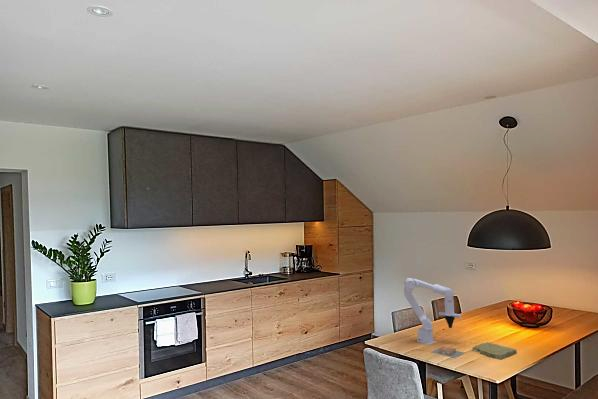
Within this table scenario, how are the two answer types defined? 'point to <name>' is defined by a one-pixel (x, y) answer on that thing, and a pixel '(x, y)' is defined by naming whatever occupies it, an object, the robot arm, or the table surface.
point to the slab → (447, 350)
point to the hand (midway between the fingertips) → (450, 327)
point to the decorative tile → (494, 350)
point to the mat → (448, 355)
